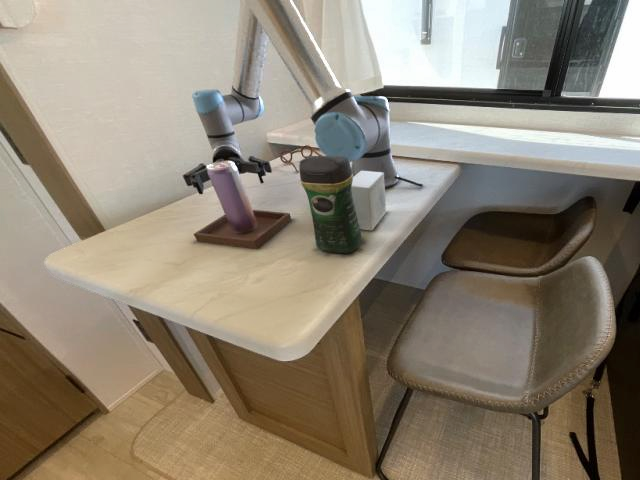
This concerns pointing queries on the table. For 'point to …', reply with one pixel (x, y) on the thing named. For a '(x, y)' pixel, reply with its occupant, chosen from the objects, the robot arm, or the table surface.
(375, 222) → the cosmetics box
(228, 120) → the robot arm
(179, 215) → the table surface
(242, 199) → the beverage can
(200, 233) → the tray
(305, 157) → the glasses
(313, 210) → the coffee jar
